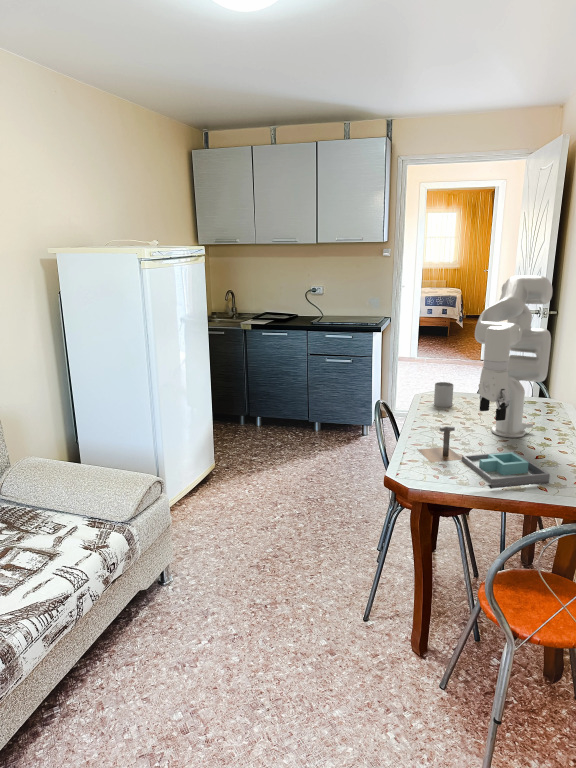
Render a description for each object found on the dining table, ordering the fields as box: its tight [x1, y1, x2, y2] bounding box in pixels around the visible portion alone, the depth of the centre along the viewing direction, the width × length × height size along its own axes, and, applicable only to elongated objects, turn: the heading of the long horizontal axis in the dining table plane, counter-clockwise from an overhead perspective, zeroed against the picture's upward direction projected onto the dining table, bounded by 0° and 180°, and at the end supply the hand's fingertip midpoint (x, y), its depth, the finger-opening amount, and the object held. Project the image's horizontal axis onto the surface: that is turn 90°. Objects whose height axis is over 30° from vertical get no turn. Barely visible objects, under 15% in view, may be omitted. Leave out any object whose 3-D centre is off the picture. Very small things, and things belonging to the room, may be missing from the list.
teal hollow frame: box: [478, 451, 529, 476], centre depth 173 cm, size 9×14×4 cm, turn 100°
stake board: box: [417, 426, 462, 463], centre depth 186 cm, size 12×12×12 cm
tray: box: [461, 450, 551, 489], centre depth 174 cm, size 20×20×3 cm
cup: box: [433, 381, 454, 408], centre depth 249 cm, size 8×8×10 cm
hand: (492, 415), depth 173 cm, fingers open, 9 cm apart
